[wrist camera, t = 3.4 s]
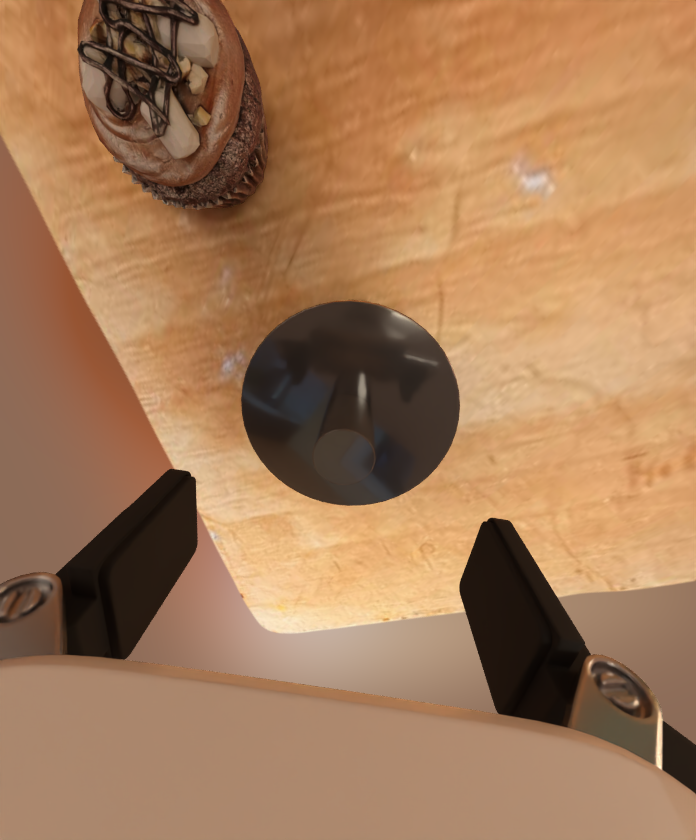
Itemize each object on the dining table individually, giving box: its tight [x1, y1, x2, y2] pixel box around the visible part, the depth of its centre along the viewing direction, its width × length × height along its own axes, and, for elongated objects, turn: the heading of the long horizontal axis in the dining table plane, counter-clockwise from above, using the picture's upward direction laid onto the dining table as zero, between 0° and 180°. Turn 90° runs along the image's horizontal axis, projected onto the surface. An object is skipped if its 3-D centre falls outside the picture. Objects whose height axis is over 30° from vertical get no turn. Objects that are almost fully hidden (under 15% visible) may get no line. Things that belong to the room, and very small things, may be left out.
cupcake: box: [77, 0, 268, 210], centre depth 18 cm, size 10×10×10 cm
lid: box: [241, 300, 460, 506], centre depth 18 cm, size 13×13×6 cm
